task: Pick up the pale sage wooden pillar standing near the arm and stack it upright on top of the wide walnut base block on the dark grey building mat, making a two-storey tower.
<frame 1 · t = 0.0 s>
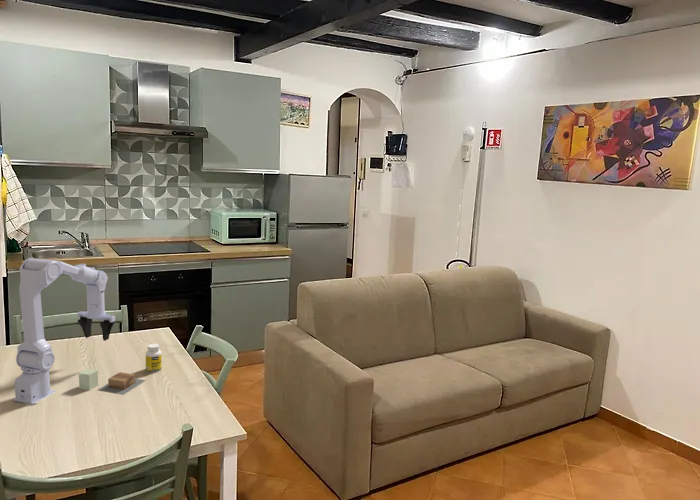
hand: (97, 338, 200), 10 cm above the table, tool pointing down, fingers open, 7 cm apart
walnut block: (122, 385, 185), resting on building mat
building mat: (122, 386, 185), on the table
supplement bottle: (153, 371, 199), on the table
sage pillar: (88, 388, 182), on the table
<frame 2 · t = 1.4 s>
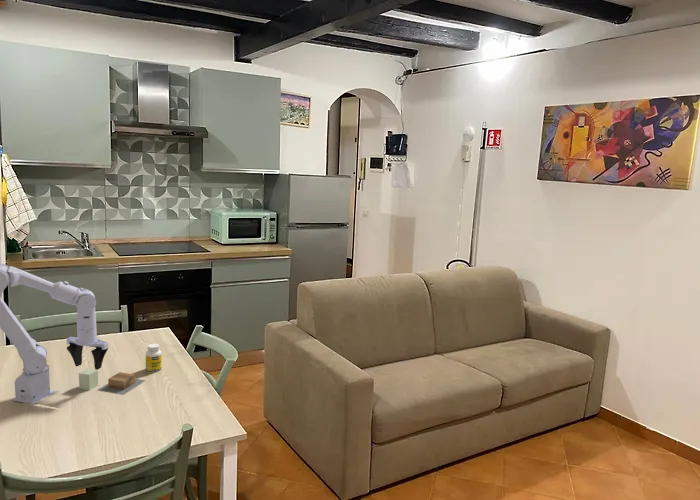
hand: (88, 366, 181), 8 cm above the table, tool pointing down, fingers open, 7 cm apart
nothing on the table moved.
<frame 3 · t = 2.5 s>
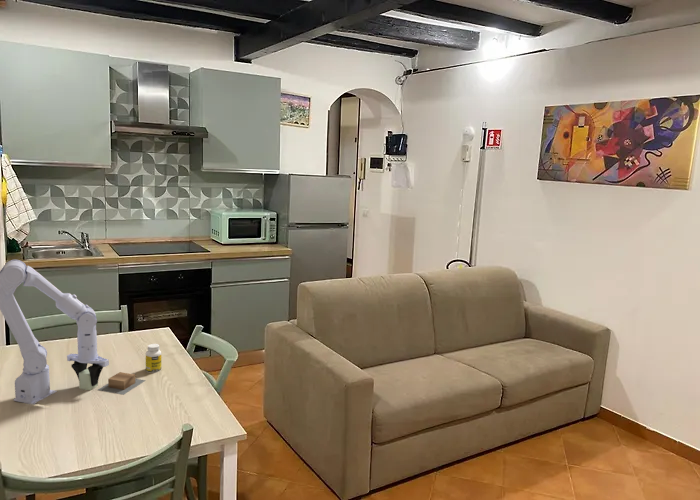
hand: (88, 383, 182), 2 cm above the table, tool pointing down, fingers closed on sage pillar, 4 cm apart
sage pillar: (88, 388, 182), on the table, touching gripper
everything else where it was.
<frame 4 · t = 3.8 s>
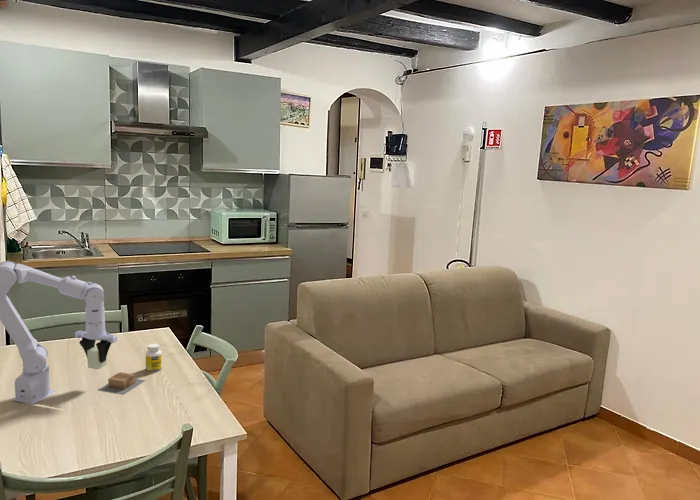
hand: (96, 360, 181), 10 cm above the table, tool pointing down, fingers closed on sage pillar, 4 cm apart
sage pillar: (97, 366, 182), point 8 cm above the table, touching gripper
everything else where it was.
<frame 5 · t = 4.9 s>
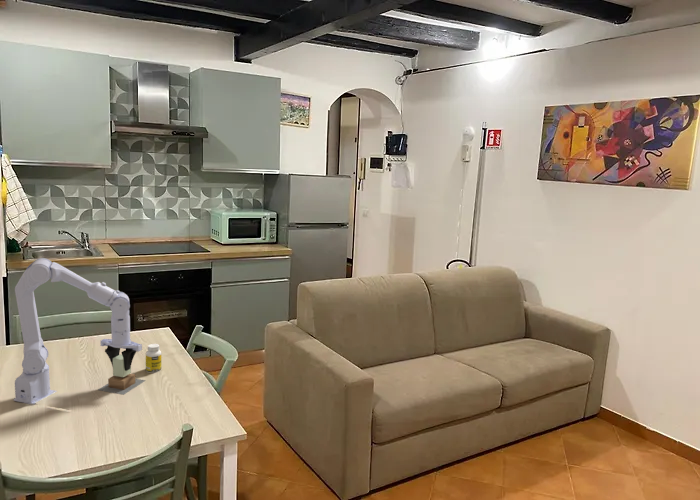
hand: (121, 368, 184), 6 cm above the table, tool pointing down, fingers closed on sage pillar, 4 cm apart
sage pillar: (122, 374, 184), point 4 cm above the table, touching gripper
everything else where it was.
when the fingers open (6 cm above the table, at t = 5.3 s): sage pillar stays where it is, resting on walnut block.
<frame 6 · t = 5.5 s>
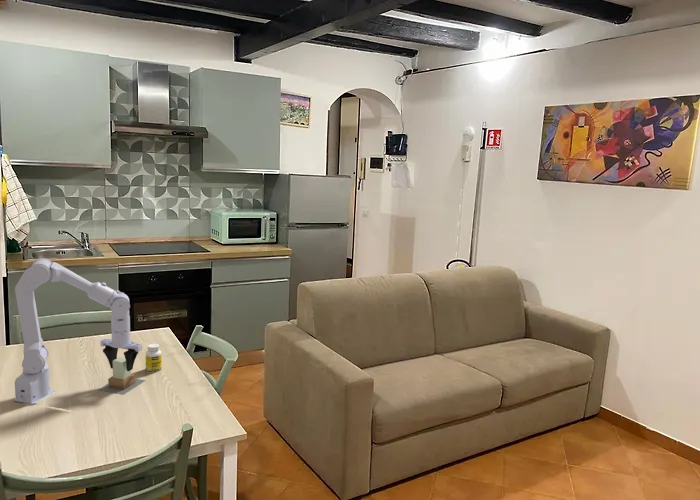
hand: (121, 368, 184), 6 cm above the table, tool pointing down, fingers open, 6 cm apart
sage pillar: (122, 376, 184), point 4 cm above the table, touching walnut block
everything else where it was.
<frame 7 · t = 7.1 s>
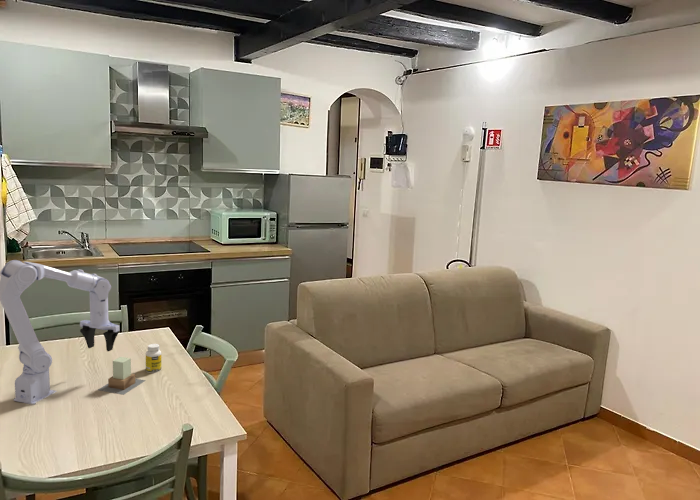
hand: (100, 348, 189), 10 cm above the table, tool pointing down, fingers open, 7 cm apart
nothing on the table moved.
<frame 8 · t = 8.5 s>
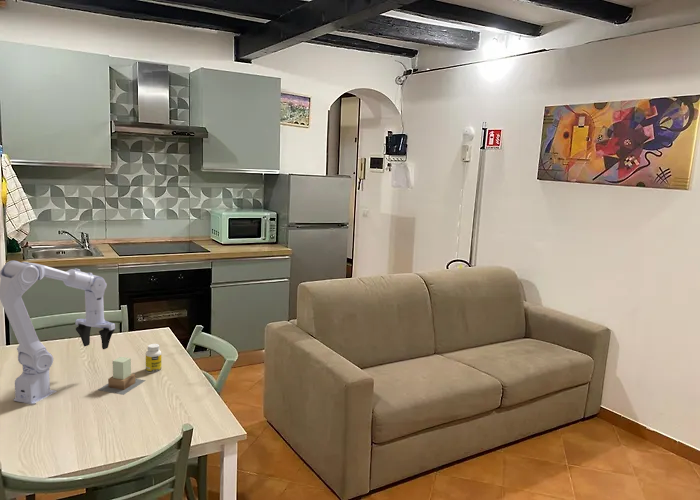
hand: (95, 346, 191), 10 cm above the table, tool pointing down, fingers open, 7 cm apart
nothing on the table moved.
at the end: sage pillar 0.1 cm off-centre on the walnut block, point 3.0 cm above the walnut block's base; sage pillar tilted 0°; the gripper is holding nothing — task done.
